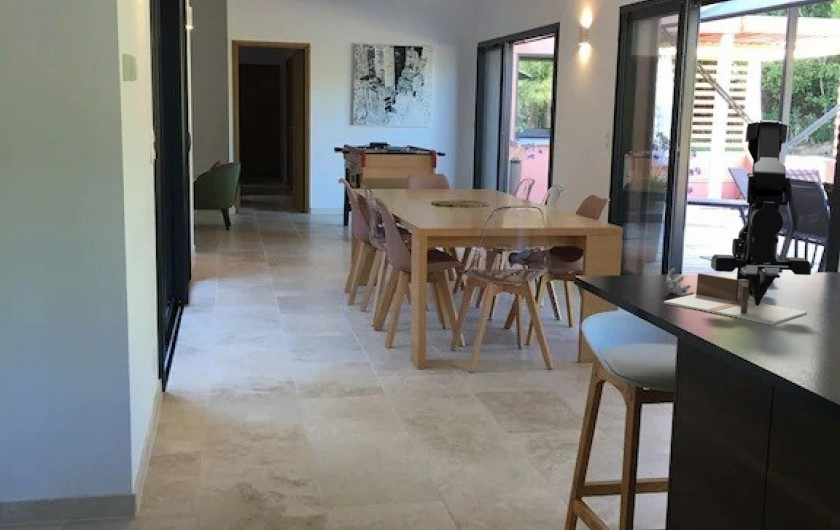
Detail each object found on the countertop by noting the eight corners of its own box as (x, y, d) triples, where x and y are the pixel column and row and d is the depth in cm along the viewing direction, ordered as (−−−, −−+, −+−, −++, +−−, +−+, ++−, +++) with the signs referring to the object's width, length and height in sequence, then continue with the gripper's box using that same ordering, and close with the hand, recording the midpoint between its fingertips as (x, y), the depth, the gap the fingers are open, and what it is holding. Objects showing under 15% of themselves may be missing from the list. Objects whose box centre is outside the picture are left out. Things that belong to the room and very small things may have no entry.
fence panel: (739, 301, 192) (741, 279, 191) (745, 302, 191) (747, 280, 190) (740, 313, 180) (743, 289, 179) (746, 313, 180) (749, 289, 179)
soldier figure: (698, 296, 206) (695, 288, 195) (681, 308, 207) (677, 301, 196) (678, 270, 209) (674, 261, 198) (661, 282, 210) (656, 274, 198)
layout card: (701, 294, 202) (702, 292, 202) (806, 314, 186) (807, 311, 186) (663, 303, 191) (664, 300, 190) (772, 325, 174) (772, 322, 174)
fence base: (699, 293, 201) (701, 272, 200) (748, 302, 193) (750, 280, 192) (694, 294, 199) (696, 272, 199) (744, 303, 191) (746, 281, 190)
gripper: (799, 227, 187) (792, 299, 189) (708, 224, 189) (703, 295, 192) (815, 234, 176) (808, 310, 178) (719, 231, 178) (713, 306, 181)
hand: (756, 305), depth 183 cm, fingers closed
